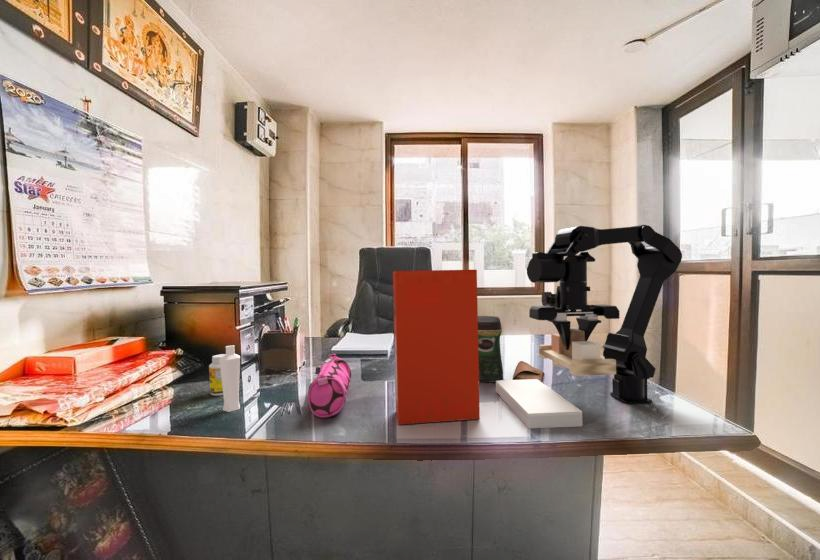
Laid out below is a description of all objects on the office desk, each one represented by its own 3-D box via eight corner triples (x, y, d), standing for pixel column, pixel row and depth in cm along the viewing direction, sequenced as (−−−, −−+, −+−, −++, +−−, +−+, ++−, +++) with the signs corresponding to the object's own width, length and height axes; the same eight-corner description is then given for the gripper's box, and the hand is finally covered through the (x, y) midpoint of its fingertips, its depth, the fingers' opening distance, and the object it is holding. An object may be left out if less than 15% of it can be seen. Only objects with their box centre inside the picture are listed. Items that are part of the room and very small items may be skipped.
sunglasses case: (545, 390, 93) (531, 367, 94) (521, 401, 95) (508, 379, 96) (544, 372, 110) (532, 353, 111) (524, 382, 112) (513, 363, 113)
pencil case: (316, 390, 97) (315, 353, 97) (351, 387, 99) (350, 352, 99) (303, 421, 76) (302, 375, 76) (349, 418, 78) (348, 373, 77)
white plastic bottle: (238, 403, 88) (237, 343, 87) (245, 408, 85) (243, 345, 84) (218, 408, 84) (216, 346, 84) (224, 413, 81) (222, 348, 81)
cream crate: (589, 358, 79) (589, 340, 79) (600, 363, 75) (600, 344, 75) (572, 359, 78) (571, 341, 78) (581, 363, 74) (581, 344, 74)
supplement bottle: (211, 391, 98) (210, 354, 97) (233, 388, 100) (232, 352, 100) (208, 397, 92) (207, 358, 92) (232, 394, 95) (231, 356, 94)
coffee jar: (502, 375, 107) (501, 314, 106) (503, 383, 99) (502, 317, 99) (470, 374, 109) (469, 314, 108) (468, 382, 101) (467, 317, 101)
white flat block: (537, 390, 93) (537, 379, 93) (582, 426, 71) (582, 411, 71) (496, 391, 92) (495, 380, 92) (528, 428, 70) (528, 413, 70)
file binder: (395, 410, 81) (392, 271, 80) (468, 406, 83) (466, 270, 82) (398, 425, 73) (395, 271, 72) (479, 420, 75) (477, 269, 74)
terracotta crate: (566, 349, 89) (566, 333, 89) (575, 352, 85) (575, 336, 85) (551, 349, 88) (551, 333, 88) (559, 353, 84) (558, 336, 84)
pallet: (573, 355, 90) (573, 324, 90) (616, 374, 73) (615, 335, 73) (539, 356, 90) (538, 325, 90) (573, 375, 73) (573, 336, 73)
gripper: (592, 280, 90) (592, 342, 90) (520, 281, 89) (521, 343, 89) (620, 281, 79) (621, 351, 79) (539, 282, 78) (539, 353, 78)
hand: (573, 349), depth 82 cm, fingers closed on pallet, 3 cm apart
